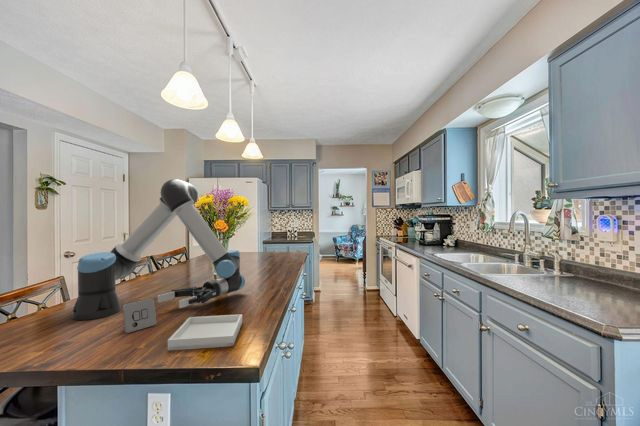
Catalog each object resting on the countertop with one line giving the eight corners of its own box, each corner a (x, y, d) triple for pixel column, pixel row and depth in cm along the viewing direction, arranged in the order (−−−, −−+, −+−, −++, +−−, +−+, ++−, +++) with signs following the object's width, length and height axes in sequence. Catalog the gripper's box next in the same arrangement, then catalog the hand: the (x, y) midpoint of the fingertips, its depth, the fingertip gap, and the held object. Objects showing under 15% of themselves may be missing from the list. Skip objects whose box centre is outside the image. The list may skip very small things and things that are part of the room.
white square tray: (189, 325, 97) (189, 317, 97) (242, 322, 99) (242, 314, 99) (167, 350, 79) (167, 340, 79) (233, 346, 81) (232, 335, 81)
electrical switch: (126, 334, 90) (125, 305, 91) (120, 331, 94) (119, 303, 94) (157, 325, 98) (156, 298, 98) (151, 323, 101) (150, 297, 102)
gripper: (235, 300, 117) (189, 317, 99) (196, 293, 129) (150, 306, 111) (234, 283, 117) (189, 296, 99) (196, 277, 130) (149, 287, 111)
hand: (168, 301), depth 105 cm, fingers open, 13 cm apart
